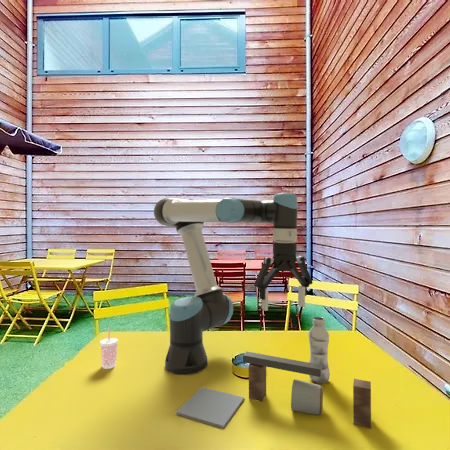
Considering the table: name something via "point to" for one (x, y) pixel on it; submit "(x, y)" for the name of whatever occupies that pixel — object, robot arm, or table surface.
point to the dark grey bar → (283, 364)
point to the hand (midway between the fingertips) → (283, 307)
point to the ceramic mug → (306, 397)
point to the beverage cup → (108, 351)
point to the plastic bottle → (319, 348)
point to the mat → (211, 407)
